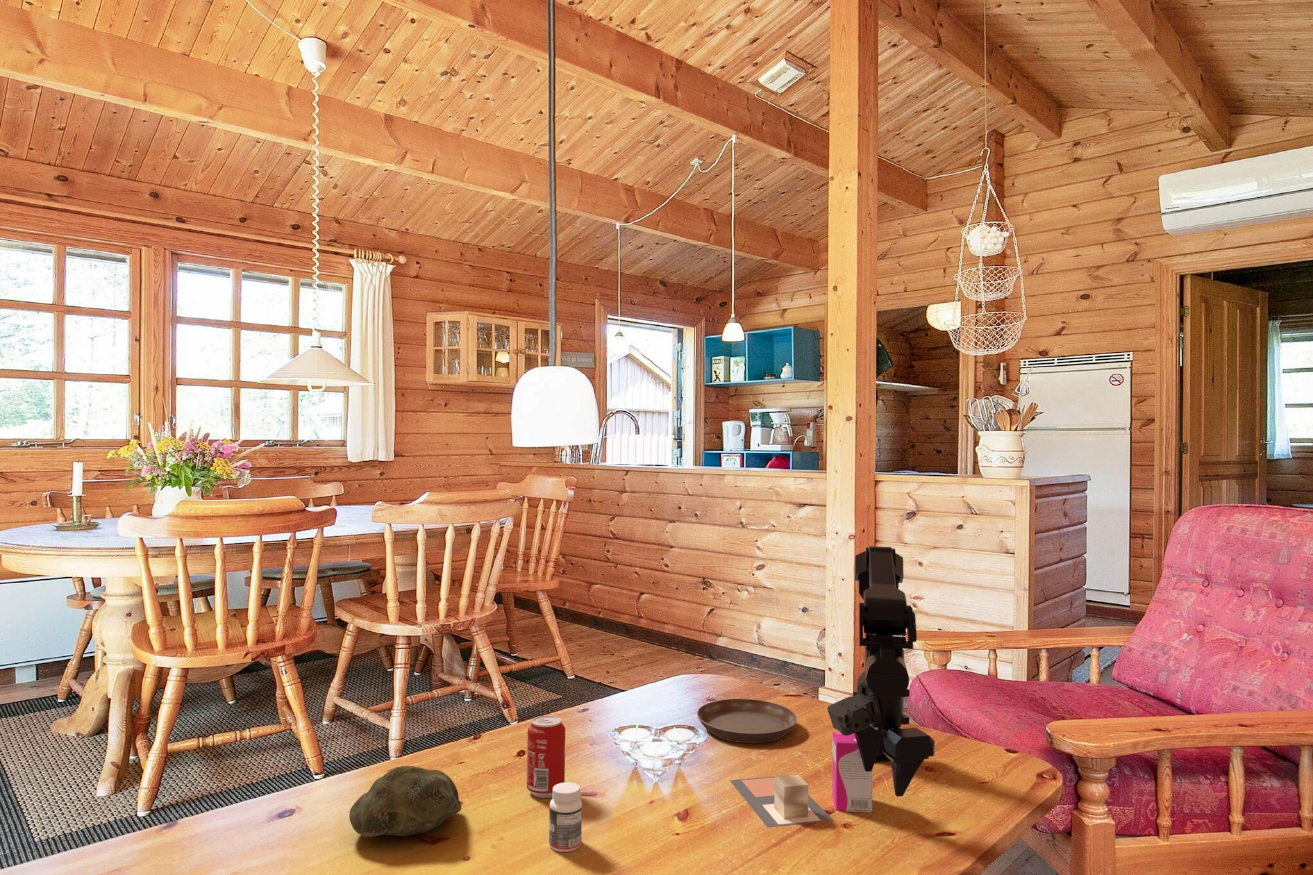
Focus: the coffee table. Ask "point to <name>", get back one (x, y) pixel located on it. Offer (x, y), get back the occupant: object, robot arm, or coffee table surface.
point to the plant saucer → (746, 720)
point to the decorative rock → (405, 803)
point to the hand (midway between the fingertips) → (883, 783)
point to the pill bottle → (565, 818)
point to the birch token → (791, 796)
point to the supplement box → (849, 776)
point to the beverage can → (545, 755)
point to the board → (762, 802)
